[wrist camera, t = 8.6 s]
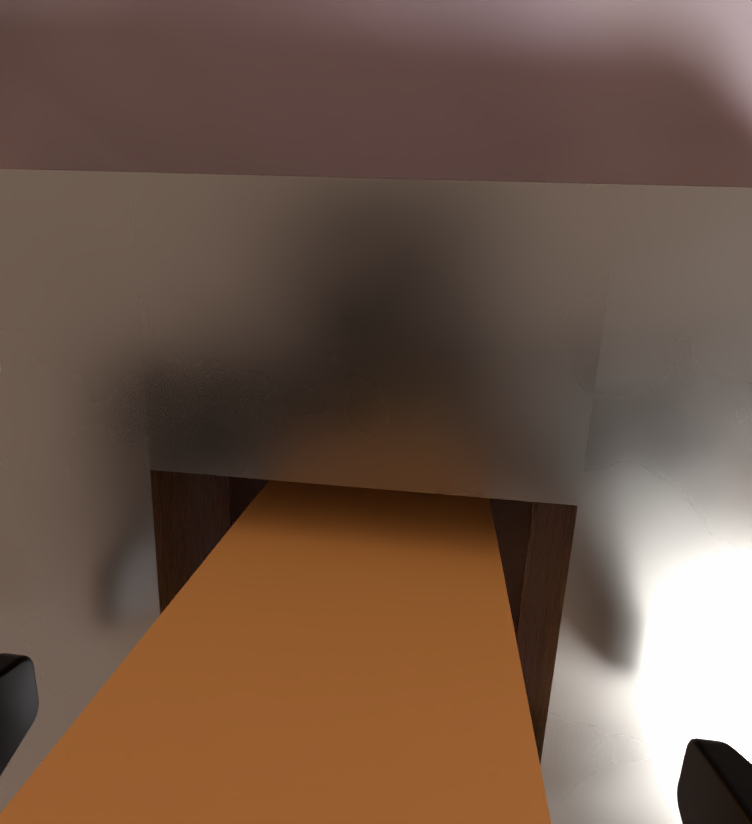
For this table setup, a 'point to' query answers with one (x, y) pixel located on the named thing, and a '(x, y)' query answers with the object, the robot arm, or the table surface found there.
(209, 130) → the table surface
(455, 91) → the table surface
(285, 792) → the orange rectangular block
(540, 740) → the grey square hole board
